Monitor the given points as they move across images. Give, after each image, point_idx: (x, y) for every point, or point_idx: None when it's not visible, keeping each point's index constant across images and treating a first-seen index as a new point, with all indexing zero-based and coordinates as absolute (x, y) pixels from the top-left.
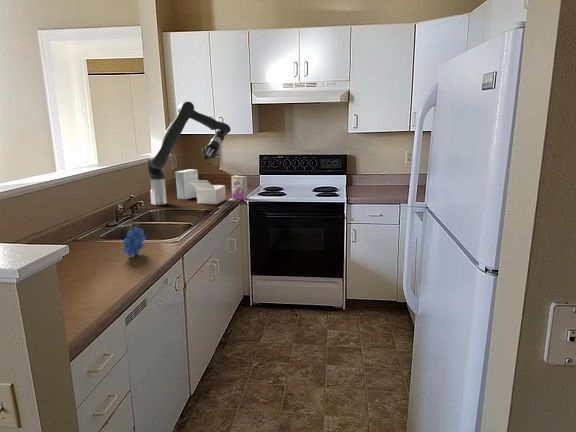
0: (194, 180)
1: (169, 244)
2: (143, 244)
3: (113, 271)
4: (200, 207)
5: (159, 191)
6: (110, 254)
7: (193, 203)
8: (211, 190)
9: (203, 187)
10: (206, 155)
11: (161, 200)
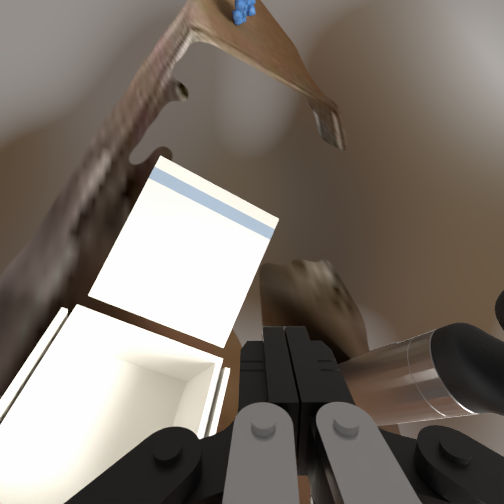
0: (242, 200)
1: (203, 26)
2: (233, 11)
3: None
4: None
5: (383, 348)
6: (265, 43)
7: None
8: (114, 320)
9: (178, 295)
10: (323, 394)
11: (348, 361)
